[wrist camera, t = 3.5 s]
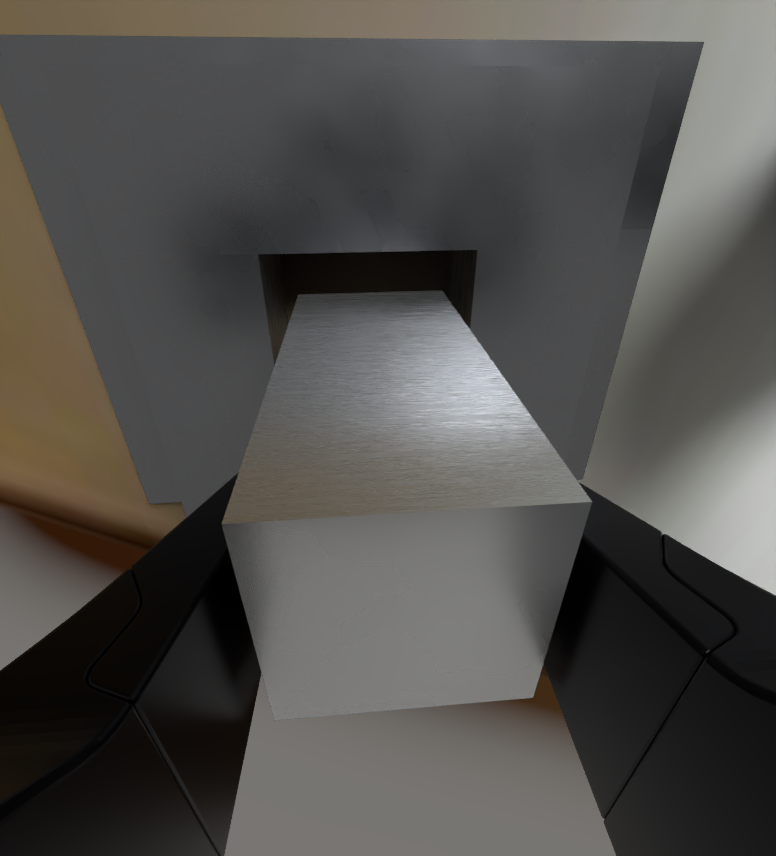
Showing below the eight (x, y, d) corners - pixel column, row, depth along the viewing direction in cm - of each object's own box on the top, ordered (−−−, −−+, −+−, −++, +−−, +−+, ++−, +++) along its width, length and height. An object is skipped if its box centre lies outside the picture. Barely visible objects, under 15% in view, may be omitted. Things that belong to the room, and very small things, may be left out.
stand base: (686, 47, 14) (867, -10, 9) (575, 469, 22) (638, 556, 17) (-5, 41, 12) (-223, -30, 8) (155, 492, 21) (99, 593, 16)
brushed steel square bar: (442, 290, 13) (592, 501, 5) (434, 427, 15) (527, 714, 7) (298, 294, 12) (222, 523, 5) (313, 432, 15) (278, 737, 7)
